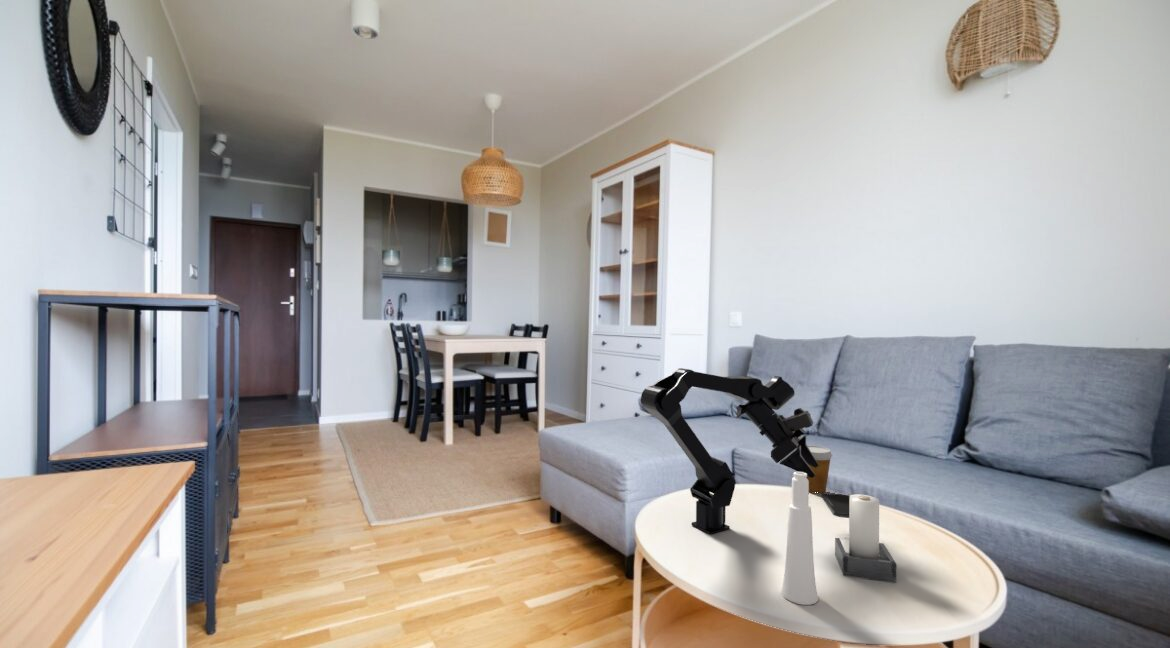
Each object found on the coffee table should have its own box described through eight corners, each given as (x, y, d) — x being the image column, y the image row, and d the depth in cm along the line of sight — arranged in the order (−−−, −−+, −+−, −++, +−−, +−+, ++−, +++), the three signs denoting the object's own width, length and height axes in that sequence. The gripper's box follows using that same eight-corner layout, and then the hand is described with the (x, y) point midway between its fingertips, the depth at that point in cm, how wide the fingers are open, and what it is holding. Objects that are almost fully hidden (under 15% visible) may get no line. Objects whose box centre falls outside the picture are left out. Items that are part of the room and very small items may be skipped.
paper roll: (859, 570, 98) (859, 502, 98) (843, 558, 103) (844, 493, 103) (884, 569, 98) (885, 501, 98) (868, 557, 103) (868, 492, 103)
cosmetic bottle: (773, 591, 92) (774, 470, 92) (798, 584, 94) (799, 466, 94) (800, 608, 86) (801, 480, 86) (825, 600, 89) (826, 475, 89)
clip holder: (896, 582, 95) (896, 563, 95) (843, 575, 98) (843, 556, 98) (883, 560, 104) (883, 543, 104) (834, 554, 106) (835, 537, 106)
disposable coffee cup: (833, 488, 148) (834, 447, 148) (829, 498, 140) (830, 454, 140) (798, 482, 153) (799, 443, 153) (793, 491, 145) (793, 450, 145)
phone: (851, 495, 140) (867, 515, 126) (851, 499, 140) (867, 520, 126) (820, 493, 142) (833, 512, 128) (820, 497, 142) (833, 517, 128)
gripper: (786, 404, 114) (840, 460, 108) (796, 393, 130) (844, 441, 125) (749, 435, 118) (801, 490, 112) (764, 421, 134) (809, 469, 129)
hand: (815, 471), depth 119 cm, fingers open, 9 cm apart
